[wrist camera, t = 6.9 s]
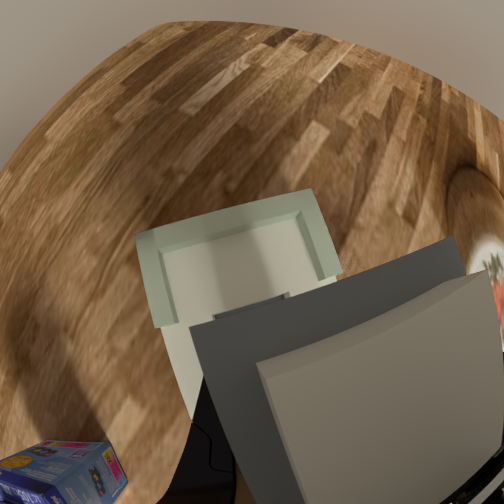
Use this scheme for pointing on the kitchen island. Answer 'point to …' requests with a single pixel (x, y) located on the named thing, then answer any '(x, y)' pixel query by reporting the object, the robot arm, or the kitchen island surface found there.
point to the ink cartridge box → (62, 474)
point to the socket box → (231, 269)
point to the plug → (363, 384)
